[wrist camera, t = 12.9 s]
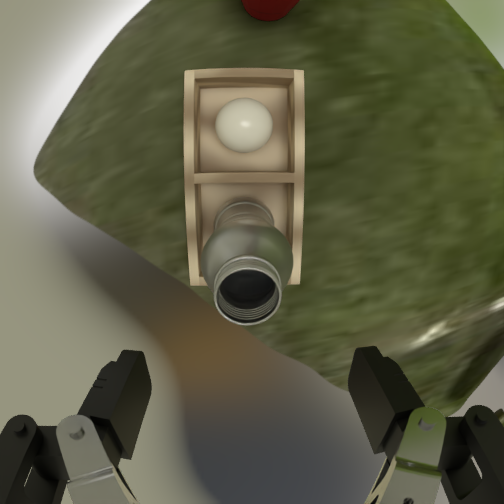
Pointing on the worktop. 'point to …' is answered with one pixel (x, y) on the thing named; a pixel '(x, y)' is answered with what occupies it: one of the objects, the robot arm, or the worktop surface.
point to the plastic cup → (268, 8)
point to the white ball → (244, 125)
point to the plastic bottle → (246, 262)
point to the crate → (243, 155)
